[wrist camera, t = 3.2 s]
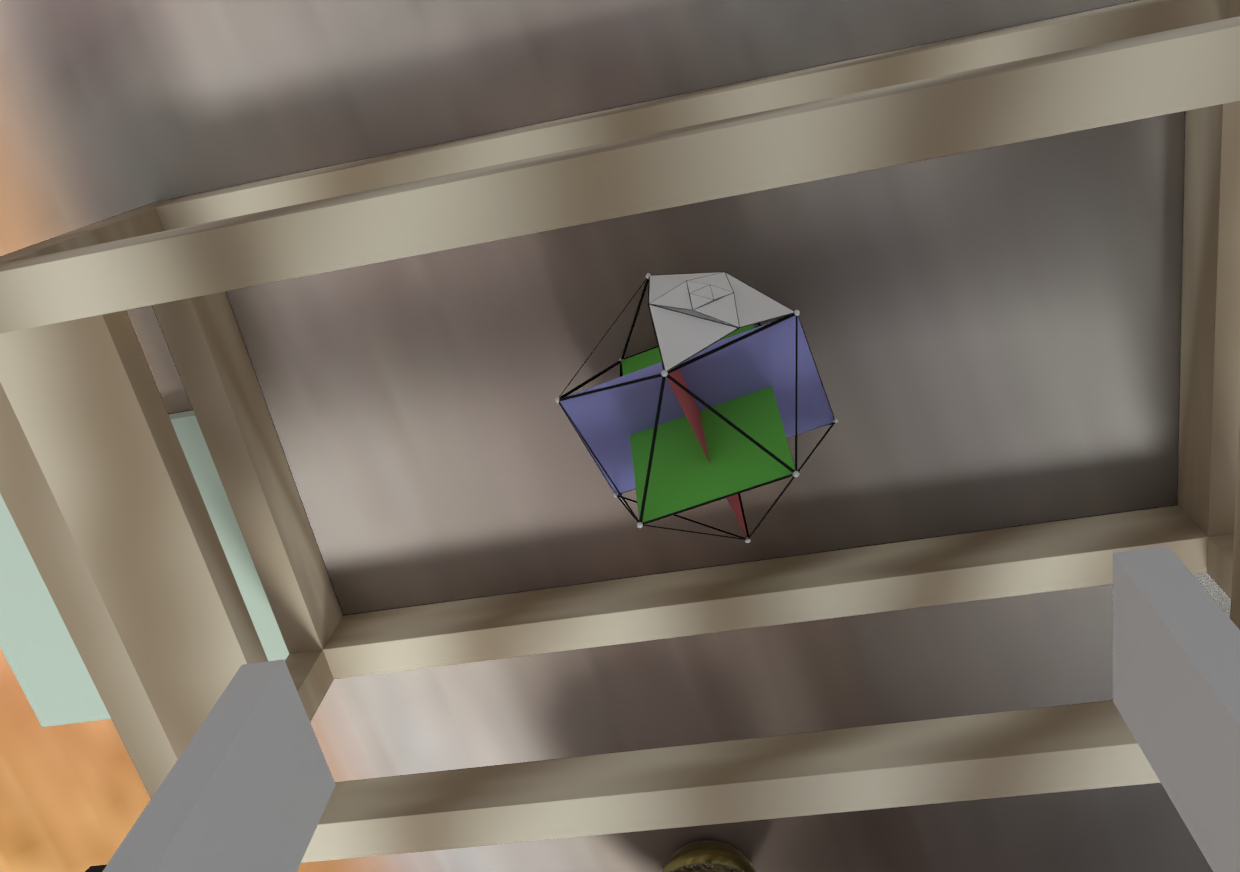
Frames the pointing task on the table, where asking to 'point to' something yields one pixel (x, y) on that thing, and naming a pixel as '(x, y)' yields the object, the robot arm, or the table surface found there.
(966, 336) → the table surface
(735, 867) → the cup
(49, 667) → the felt pad
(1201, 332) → the crate
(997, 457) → the table surface
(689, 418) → the geometric puzzle
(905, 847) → the table surface
